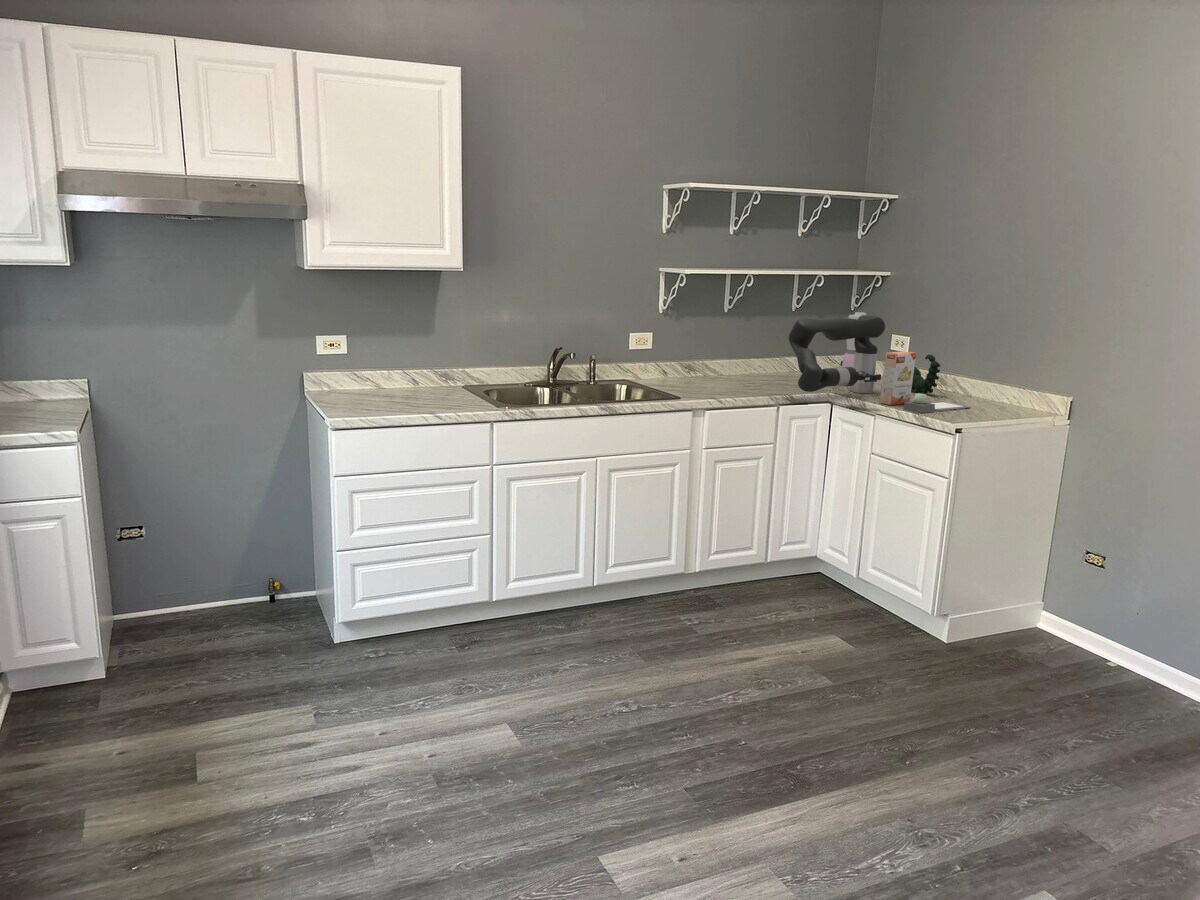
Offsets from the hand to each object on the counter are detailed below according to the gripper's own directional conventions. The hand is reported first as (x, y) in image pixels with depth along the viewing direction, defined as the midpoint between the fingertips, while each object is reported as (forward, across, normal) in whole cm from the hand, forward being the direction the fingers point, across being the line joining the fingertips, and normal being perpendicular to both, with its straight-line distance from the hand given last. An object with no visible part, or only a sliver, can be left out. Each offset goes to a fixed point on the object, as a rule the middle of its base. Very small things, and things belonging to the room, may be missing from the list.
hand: (872, 375), depth 342 cm
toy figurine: (+50, +20, +12) cm, 55 cm away
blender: (+54, +63, +12) cm, 84 cm away
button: (+11, -16, +9) cm, 21 cm away
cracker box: (+15, 0, +12) cm, 20 cm away
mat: (+27, -12, +12) cm, 32 cm away
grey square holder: (+11, -16, +12) cm, 22 cm away
